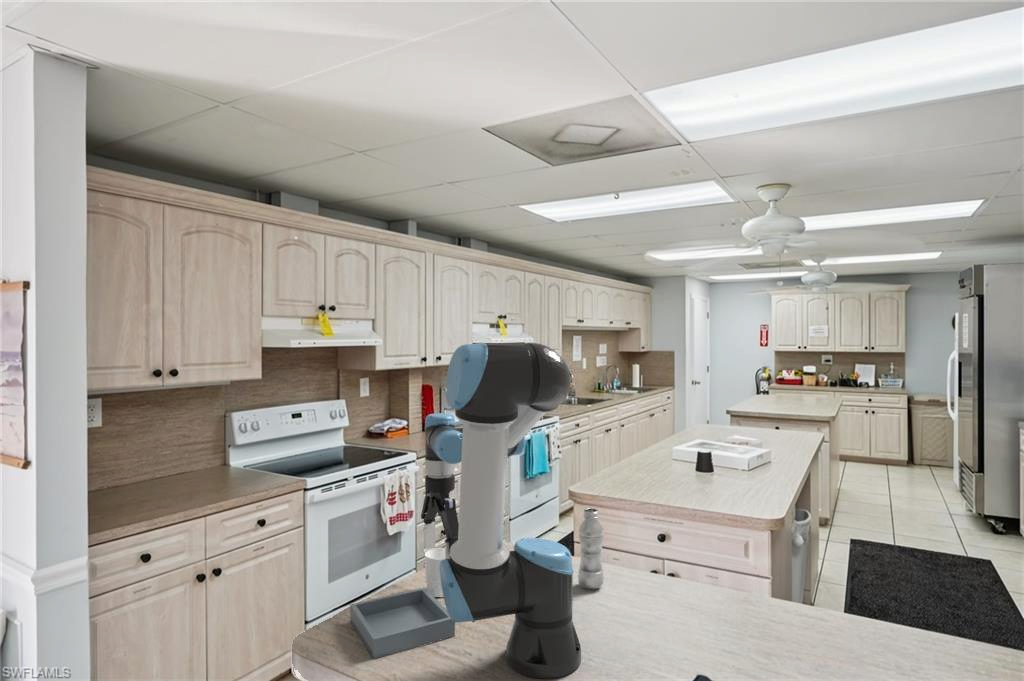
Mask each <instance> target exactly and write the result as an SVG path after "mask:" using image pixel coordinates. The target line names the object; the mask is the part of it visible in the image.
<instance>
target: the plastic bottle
mask: <svg viewBox="0 0 1024 681" xmlns="http://www.w3.org/2000/svg"><path fill="white" fill-rule="evenodd" d="M604 535H605V530H604V527H603V525H602V524H601V522H600V521H599V510H598V509H596V508H585V509H583V521H582V522H581V523H580V526H579V527H578V537H579V545H580V547H579V548H580V560H579V569H578V573H577V579H578V583H579V586H580V587H582V588H583V589H587V590H597V589H599V588H601V587H602V586H603V584H604V578H605V576H604V570H603V560H602V551H603V549H602V547H603V541H604V540H603V539H604Z"/></svg>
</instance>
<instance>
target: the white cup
mask: <svg viewBox="0 0 1024 681" xmlns="http://www.w3.org/2000/svg"><path fill="white" fill-rule="evenodd" d="M444 559H445V547H438V548H436V547H435V548H431V549H428V550H427V551H425V553H424V564H425V567H424V568H425V569H424V570H425V582H426V590H427V591H428V592H429V593H430V594H431V595H432V596H433V597H434V598H435V597H443V591H442V586H441V580H440V562H441V561H442V560H444ZM443 598H444V597H443Z"/></svg>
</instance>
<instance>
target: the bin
mask: <svg viewBox="0 0 1024 681" xmlns="http://www.w3.org/2000/svg"><path fill="white" fill-rule="evenodd" d="M349 611H350V612H349V616H350V617H349V620H350V621H349V622H350V624H351V625H352V627H353V629H354V630H355V632H356V633H357V635H358V636H359V638H360V640H361V641H362V643H363V644H364V646H365V647H366V649H367V651H368V652H369V654H370V656H371V658H372V659H373V660H376V659H380V658H382V657H386V656H390V655H392V654H393V655H394V654H397V653H401V652H404V651H408V650H411V649H414V647H415V648H418V647H417V646H419V647H421V645H422V646H425V645H424V644H426V645H428V644H427V643H429V644H431V643H430V642H433V643H435V642H434V641H436V642H439V641H438V640H440V639H443V640H446V639H445V638H447V639H449V638H448V637H450V638H452V637H451V636H454V637H456V633H455V632H456V629H455V628H456V622H454V621H453V620H452V619H451V618H450V616H449V614H448V611H447V608H446V607H444V605H443V604H441V603H440V602H439V601H438V600H437V599H436V598H435V597H433V596H432V595H431V594H430V593H429V592H428V591H427V588H425V587H420V588H415V589H412V590H407V591H402V592H399V593H395V594H390V595H389V594H388V595H385V596H381V597H377V598H373V599H368V600H364V601H363V600H362V601H359V602H355V603H350V605H349ZM440 641H441V640H440ZM403 650H404V651H403ZM400 651H401V652H400Z"/></svg>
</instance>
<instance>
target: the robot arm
mask: <svg viewBox="0 0 1024 681" xmlns="http://www.w3.org/2000/svg"><path fill="white" fill-rule="evenodd" d="M571 378H572V377H571V373H570V369H569V367H568V364H567V362H566V361H565V359H564V358H563V356H561V354H559V352H557V351H556V350H555V349H553V348H551V347H549V346H548V345H545V344H541V343H537V342H526V343H525V342H524V343H521V342H520V343H516V342H515V343H514V342H513V343H510V342H508V343H507V342H504V343H503V342H478V343H469V344H467V343H466V344H461V345H460V346H458V347H457V348H456V349H455V350H454V352H453V354H452V356H451V358H450V362H449V364H448V368H447V374H446V382H445V390H446V393H445V396H446V401H447V402H446V404H448V407H449V408H450V409H453V410H454V415H453V413H446V412H445V413H444V412H440V413H439V412H438V413H430V414H428V415H427V416H426V417H425V424H424V440H425V441H424V442H425V443H424V444H425V445H424V446H425V447H424V448H425V449H424V451H425V452H424V453H425V455H424V456H425V457H424V473H425V477H424V489H425V491H424V492H425V494H424V495H425V496H424V500H423V504H422V509H421V514H420V518H421V520H423V521H422V522H423V523H424V550H431V549H435V548H436V523H435V522H437V521H436V517H437V515H438V516H439V517H440V518H441V522H442V526H443V530H444V534H445V538H446V539H444V544H445V546H444V548H445V559H444V560H442V561H441V562H440V580H441V586H442V591H443V599H444V600H443V601H444V604H445V609H446V610H447V611H448V614H449V616H450V618H451V619H452V620H453V621H454V622H455V623H467V622H472V623H475V622H476V621H481V620H482V621H483V620H487V619H493V618H498V617H499V618H500V617H505V616H512V615H514V621H513V625H512V628H511V630H510V634H509V638H508V641H507V644H506V661H507V662H506V663H507V664H508V665H509V666H510V667H511V668H512V669H513V670H514V671H515V672H517V673H518V674H521V675H523V676H526V677H530V678H533V679H545V680H546V679H555V678H561V677H564V676H568V675H570V674H571V673H573V672H574V671H576V670H577V669H578V668H579V667H580V665H581V662H582V648H581V647H582V646H581V643H580V640H579V636H578V633H577V630H576V628H575V624H574V621H573V574H574V569H573V559H572V558H573V556H572V553H571V552H570V549H568V548H567V546H565V545H563V544H561V543H560V542H557V541H554V540H550V539H546V538H537V537H526V538H525V537H524V538H521V539H518V540H517V541H515V543H514V546H513V549H514V550H510V547H508V545H507V544H506V543H505V542H504V538H503V537H504V525H505V524H504V521H505V507H506V506H505V503H506V502H505V501H506V487H507V486H506V485H507V469H508V468H507V467H508V457H509V458H510V457H513V456H518V455H521V454H522V453H523V452H524V450H525V449H524V448H525V445H526V435H527V434H528V433H529V432H530V431H531V430H532V428H534V426H535V425H536V424H537V423H538V422H539V421H540V420H541V419H542V417H544V415H545V414H546V413H549V412H552V411H555V410H557V408H558V407H559V406H561V405H562V403H563V402H564V401H565V399H566V398H567V397H568V395H569V393H570V389H571V381H572V379H571ZM455 418H456V420H458V421H459V422H460V423H461V424H462V427H456V425H457V424H456V420H455ZM458 463H460V464H461V466H460V486H459V509H458V510H459V512H458V514H457V507H456V506H457V505H456V504H457V503H456V499H455V498H450V493H451V492H453V491H454V490H455V488H456V487H455V486H456V481H455V479H456V476H455V474H454V473H455V472H456V470H455V468H456V467H455V466H456V465H455V464H458ZM458 515H459V516H458Z"/></svg>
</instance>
